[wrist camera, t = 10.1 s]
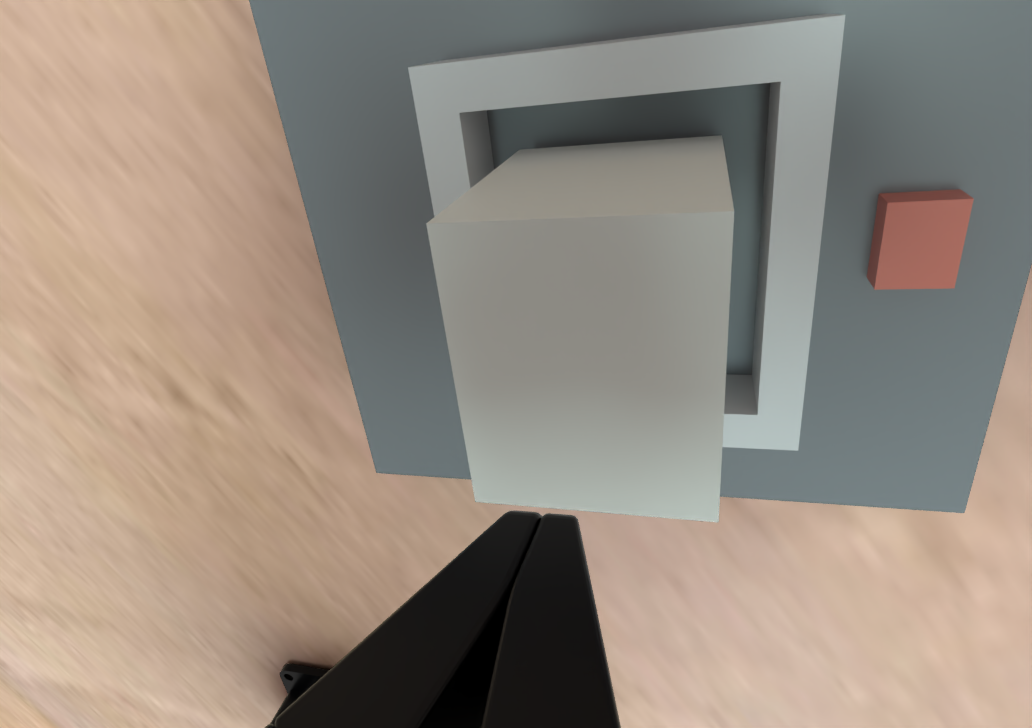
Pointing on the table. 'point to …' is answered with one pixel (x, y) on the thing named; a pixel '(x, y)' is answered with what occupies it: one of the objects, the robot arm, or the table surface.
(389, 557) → the table surface
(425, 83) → the socket plate
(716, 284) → the pale grey cuboid block
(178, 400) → the table surface
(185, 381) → the table surface
